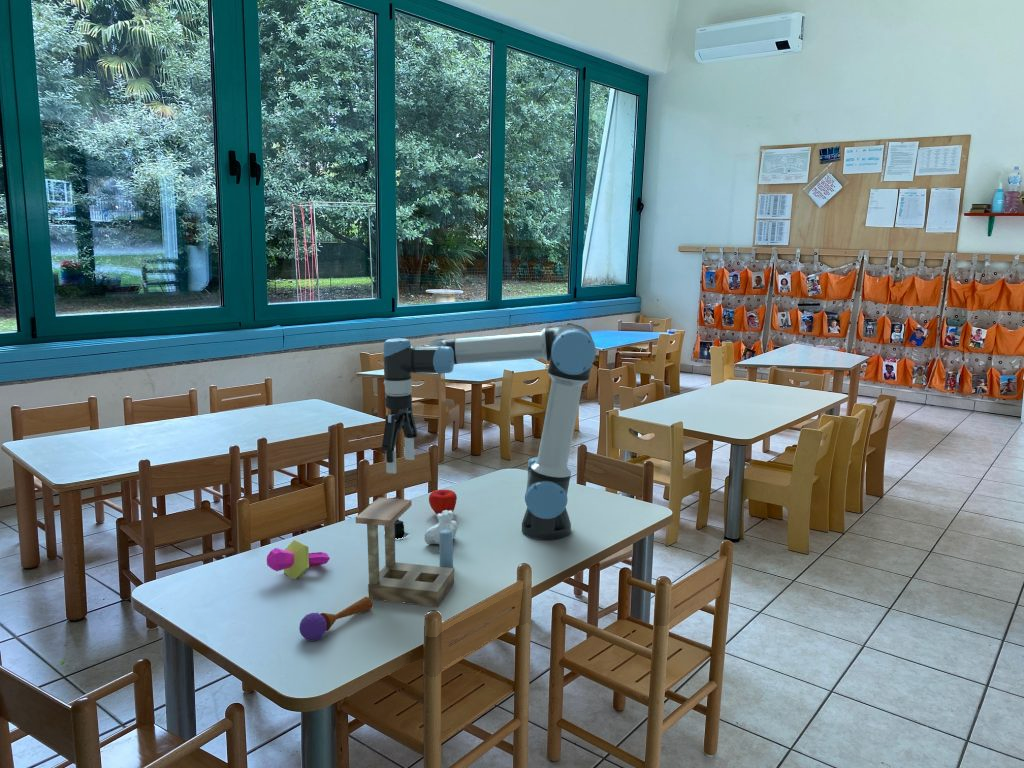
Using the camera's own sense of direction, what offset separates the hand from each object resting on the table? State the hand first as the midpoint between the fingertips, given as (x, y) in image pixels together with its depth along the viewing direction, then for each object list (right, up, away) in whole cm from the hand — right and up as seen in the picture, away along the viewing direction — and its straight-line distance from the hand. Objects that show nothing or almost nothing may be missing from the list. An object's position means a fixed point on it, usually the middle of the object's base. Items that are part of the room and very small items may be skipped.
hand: (400, 466), depth 226 cm
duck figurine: (+12, -23, +6) cm, 27 cm away
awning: (0, -25, -24) cm, 35 cm away
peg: (+14, -26, -11) cm, 32 cm away
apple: (+10, -19, +29) cm, 36 cm away
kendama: (-9, -33, -43) cm, 55 cm away
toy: (-25, -28, -16) cm, 41 cm away
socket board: (+6, -29, -25) cm, 39 cm away
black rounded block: (-3, -23, +13) cm, 26 cm away
